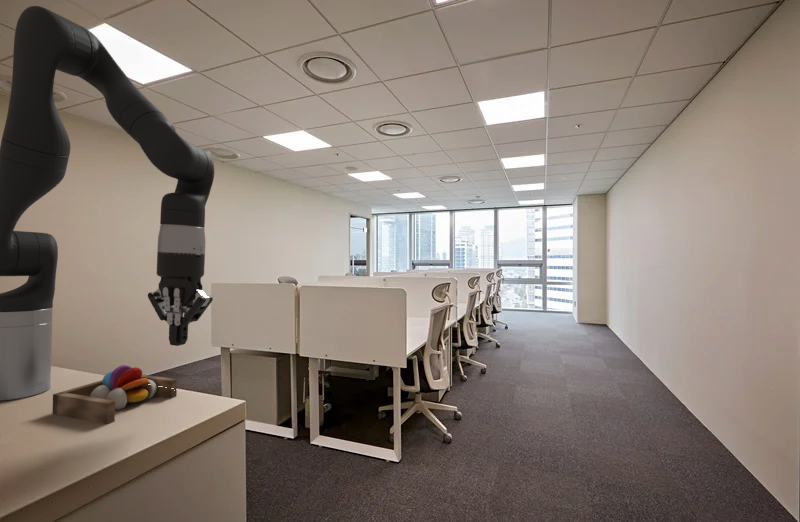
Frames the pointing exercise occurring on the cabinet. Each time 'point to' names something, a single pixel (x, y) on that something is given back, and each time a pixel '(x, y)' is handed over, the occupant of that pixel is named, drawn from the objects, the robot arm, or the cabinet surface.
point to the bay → (100, 400)
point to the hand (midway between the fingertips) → (178, 344)
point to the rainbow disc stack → (125, 386)
